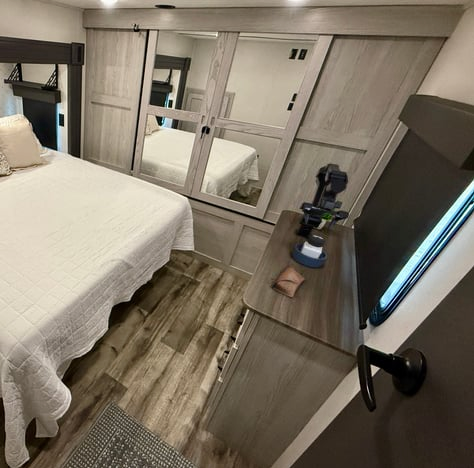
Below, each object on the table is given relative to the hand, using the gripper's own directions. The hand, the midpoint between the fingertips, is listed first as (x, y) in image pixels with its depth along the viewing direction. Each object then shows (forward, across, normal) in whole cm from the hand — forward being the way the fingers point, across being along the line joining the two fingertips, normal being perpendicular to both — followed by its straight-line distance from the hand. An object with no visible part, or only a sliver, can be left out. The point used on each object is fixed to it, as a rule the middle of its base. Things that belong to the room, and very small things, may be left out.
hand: (316, 227), depth 134 cm
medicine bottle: (+16, +1, +1) cm, 16 cm away
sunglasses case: (+29, -6, -21) cm, 37 cm away
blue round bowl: (+16, +1, +1) cm, 16 cm away
